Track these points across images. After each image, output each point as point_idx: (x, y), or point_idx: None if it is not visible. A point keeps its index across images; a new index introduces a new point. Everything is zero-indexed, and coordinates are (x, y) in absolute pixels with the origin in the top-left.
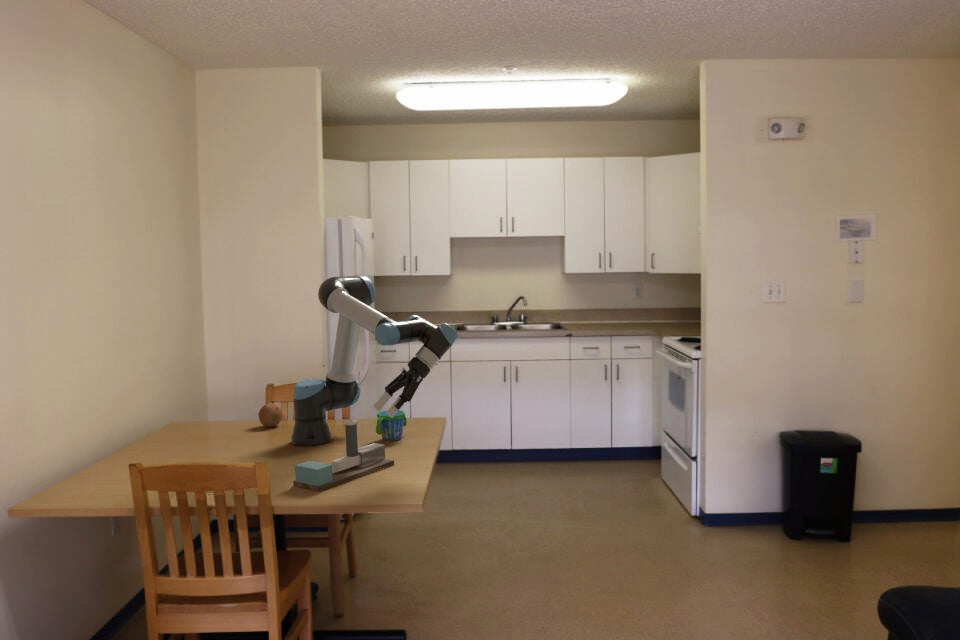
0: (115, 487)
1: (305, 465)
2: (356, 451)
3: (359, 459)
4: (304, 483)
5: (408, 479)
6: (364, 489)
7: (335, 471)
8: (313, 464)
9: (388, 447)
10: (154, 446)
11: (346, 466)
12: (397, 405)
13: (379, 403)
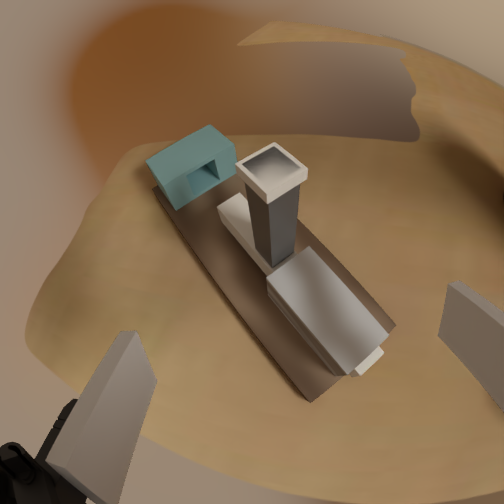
0: (312, 39)
1: (195, 139)
2: (267, 257)
3: None
4: None
5: None
6: (118, 276)
7: None
8: (192, 151)
9: None
10: (466, 76)
11: (238, 240)
12: (63, 415)
13: (471, 326)
